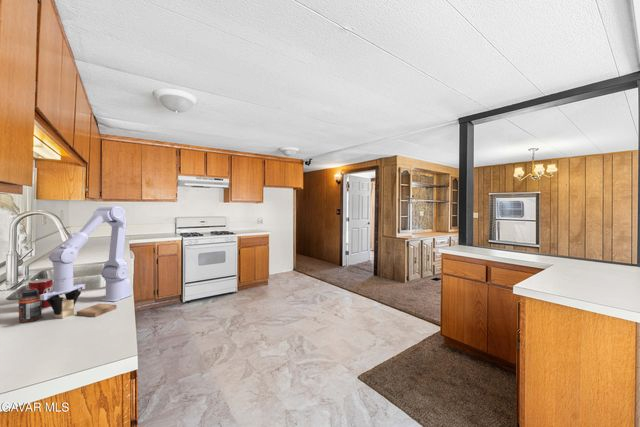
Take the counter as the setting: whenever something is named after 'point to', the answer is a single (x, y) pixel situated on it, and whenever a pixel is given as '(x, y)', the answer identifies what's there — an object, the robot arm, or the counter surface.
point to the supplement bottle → (30, 306)
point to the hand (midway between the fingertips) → (64, 312)
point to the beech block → (66, 309)
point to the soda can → (42, 289)
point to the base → (96, 310)
